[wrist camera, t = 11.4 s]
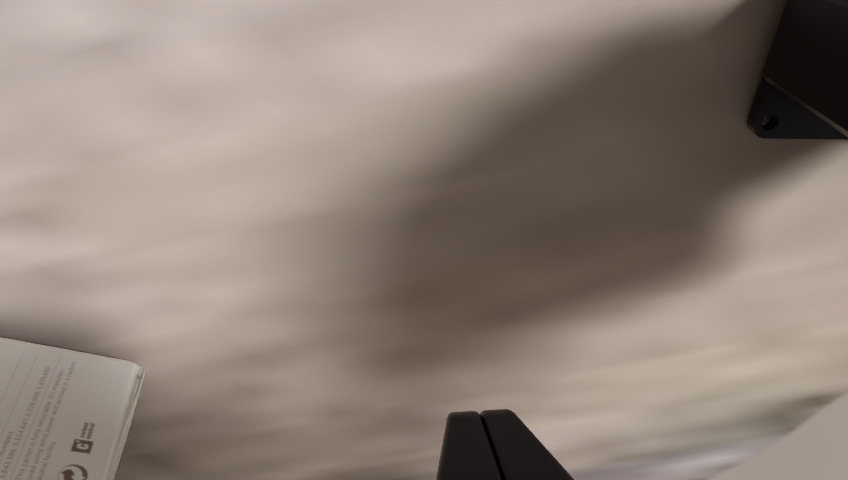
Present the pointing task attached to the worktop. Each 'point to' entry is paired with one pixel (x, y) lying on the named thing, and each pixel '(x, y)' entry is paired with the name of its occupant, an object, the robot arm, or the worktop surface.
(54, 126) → the worktop surface
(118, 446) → the skincare box
